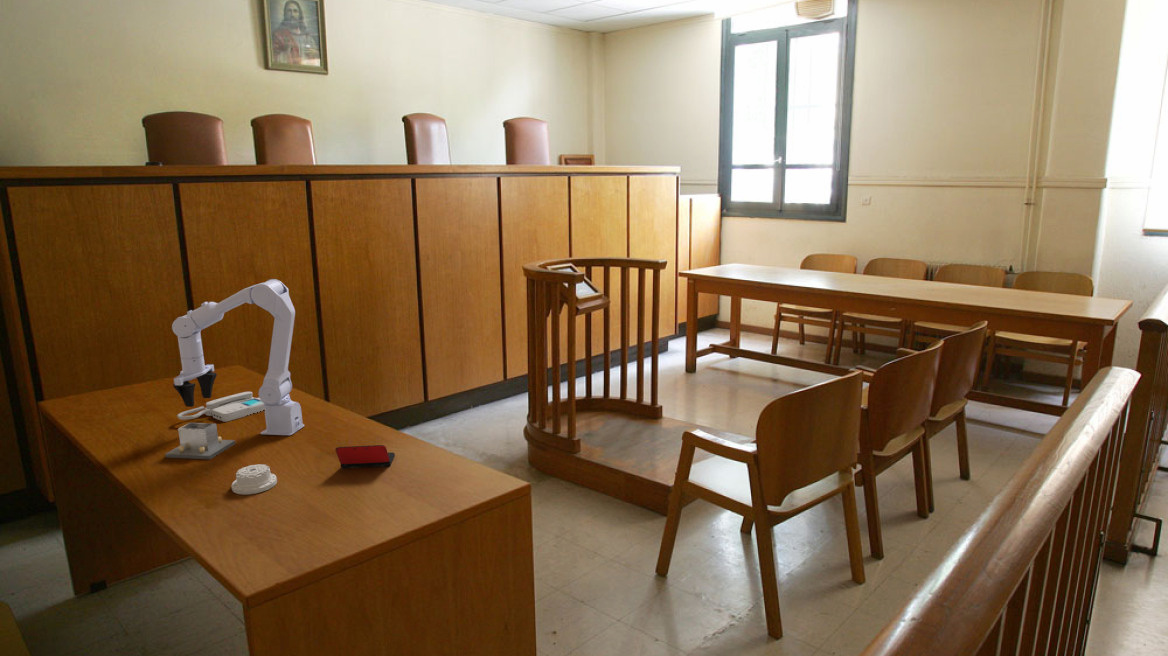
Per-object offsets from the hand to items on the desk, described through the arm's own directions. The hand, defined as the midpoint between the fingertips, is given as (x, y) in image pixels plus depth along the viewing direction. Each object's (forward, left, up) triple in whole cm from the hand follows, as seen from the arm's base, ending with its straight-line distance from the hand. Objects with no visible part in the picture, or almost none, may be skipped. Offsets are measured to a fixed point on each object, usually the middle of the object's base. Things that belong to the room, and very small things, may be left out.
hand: (198, 401), depth 208 cm
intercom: (+3, -14, -10) cm, 18 cm away
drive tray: (-8, +13, -9) cm, 18 cm away
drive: (-8, +13, -8) cm, 17 cm away
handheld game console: (-58, +17, -10) cm, 61 cm away
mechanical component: (-36, +32, -10) cm, 49 cm away
